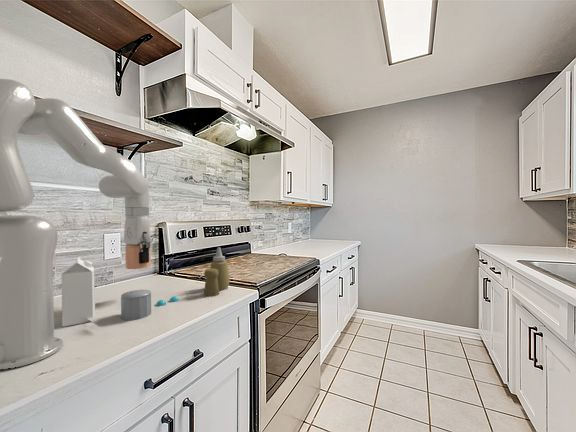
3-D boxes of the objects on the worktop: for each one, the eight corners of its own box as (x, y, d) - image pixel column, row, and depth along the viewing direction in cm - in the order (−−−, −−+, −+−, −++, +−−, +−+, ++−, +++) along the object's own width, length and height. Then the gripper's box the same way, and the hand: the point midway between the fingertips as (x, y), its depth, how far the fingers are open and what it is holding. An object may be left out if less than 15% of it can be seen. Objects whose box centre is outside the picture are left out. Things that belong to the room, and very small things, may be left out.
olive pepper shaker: (199, 299, 99) (199, 269, 98) (211, 294, 104) (211, 266, 104) (212, 301, 96) (211, 271, 96) (223, 297, 101) (223, 268, 101)
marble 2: (172, 306, 91) (173, 297, 91) (167, 304, 92) (168, 296, 93) (180, 305, 93) (180, 296, 93) (175, 303, 95) (176, 294, 95)
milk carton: (62, 327, 75) (60, 260, 75) (66, 319, 81) (65, 257, 81) (93, 321, 79) (92, 257, 79) (95, 314, 85) (94, 254, 85)
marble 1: (163, 311, 88) (157, 307, 86) (158, 309, 90) (152, 305, 88) (169, 303, 90) (163, 299, 88) (164, 301, 92) (158, 297, 90)
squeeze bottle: (205, 291, 108) (205, 247, 108) (223, 287, 114) (223, 245, 113) (214, 296, 102) (214, 249, 102) (233, 291, 108) (232, 247, 107)
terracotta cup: (132, 270, 90) (131, 246, 90) (122, 267, 95) (121, 245, 95) (154, 266, 97) (154, 244, 97) (144, 263, 101) (143, 242, 101)
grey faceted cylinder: (129, 327, 75) (128, 299, 74) (117, 321, 79) (116, 294, 79) (156, 318, 81) (155, 292, 81) (143, 313, 85) (143, 288, 85)
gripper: (115, 213, 97) (116, 261, 98) (138, 212, 87) (139, 266, 88) (136, 213, 104) (137, 258, 104) (160, 212, 93) (161, 262, 94)
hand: (138, 261), depth 96 cm, fingers closed on terracotta cup, 7 cm apart
